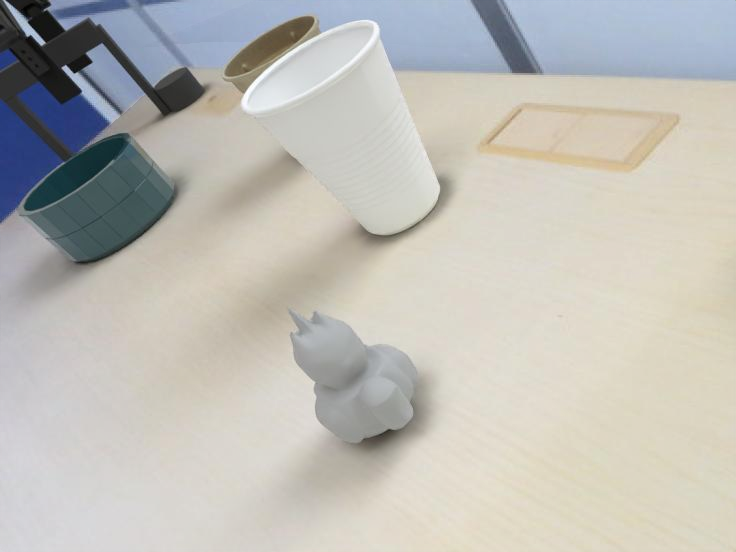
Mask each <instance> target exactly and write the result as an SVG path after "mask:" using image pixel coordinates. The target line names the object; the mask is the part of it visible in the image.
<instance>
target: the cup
mask: <svg viewBox="0 0 736 552" xmlns="http://www.w3.org/2000/svg"><path fill="white" fill-rule="evenodd" d="M380 35H381V28H380V26H379V24H378V23H377V22H375V21H374V20H370V19H360V20H353V21H349V22H346V23H344V24H340V25H338V26H335V27H332V28H330V29H328V30H326V31H324V32H321V34H320V35H318V36H316V37H314V38H312V39H310V40H308V41H306V42H305V43H303V44H301V45H300V46H298V47H296V48H295V49H293V50H292V51H290V52H289V53H287V54H286V55H284V56H283V57H282V58H280V59H279V60H278V61H276V62H275V63H274V64H272V65H271V66H270V67H269V68H268V69H266V70H265V71H264V72H263V73H262V74H261V75H260V76H259V77H258V78H257V79H256V80H255V81H254V82H253V83H252V84H251V85H250V86H249V88H248V89H247V91H246V92H245V94H244V93H243V96H242V98H241V100H240V109H241V110H242V112H243V114H245V115H247V116H249V117H252V118H253V119H254V120H255V121H256V122H257V123H258V124H259V125H260V126H261V127H262V128H263V129H264V130H265V131H266V132H267V133H268V134H269V135H270V136H271V137H272V138H273V139H274V140H275V141H276V142H277V143H278V144H279V145H280V146H281V147H282V148H284V150H286V152H287V153H289V154H290V155H291V157H292V158H294V159H296V160H297V162H298V164H301V166H303V168H304V169H305V170H306V171H308V173H309V174H310V175H311V176H313V178H314V179H315V181H318V182H319V183H320V186H322V187H323V188H325V190H326V192H329V194H331V196H332V197H333V198H335V199H336V201H337V202H338V203H340V204H341V206H342V207H343V208H344V209H346V210H347V212H348V213H349V214H350V215H351V216H352V217H353V218H354V219H355V220H356V221H357V222H358V223H359V224H360V225H361V226H362V227H363V229H365V230H366V231H367V232H368V233H370V234H374V235H379V236H392V235H395V234H399V233H401V232H405V231H406V230H408V229H410V228H411V227H413V226H415V225H416V224H418V223H419V222H421V221H422V220H423V219H425V218H426V217H427V216H428V215H429V213H431V212H432V211H433V209H434V208H435V207H436V205H437V203H438V199H439V195H440V193H441V185H440V183H439V181H438V177H437V175H436V173H435V171H434V168H433V166H432V163H431V161H430V158H429V156H428V153H427V151H426V149H425V146H424V144H423V142H422V138H421V137H420V135H419V134H420V133H419V131H418V129H417V126H416V123H415V122H414V118H413V117H412V114H411V111H410V108H409V107H408V104H407V102H406V100H405V97H404V94H403V93H402V89H401V86H400V84H399V82H398V79H397V77H396V73H395V72H394V69H393V67H392V65H391V64H392V63H391V62H390V59H389V57H388V55H387V52H386V50H385V47H384V44H383V42H382V40H381V36H380Z"/></svg>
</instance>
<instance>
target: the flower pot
mask: <svg viewBox="0 0 736 552" xmlns="http://www.w3.org/2000/svg"><path fill="white" fill-rule="evenodd" d="M319 26H320V19H319V17H318V15H317V14H314V13H306V14H301V15H298V16H295V17H292V18H289V19H287V20H285V21H283V22H281V23H279V24H277V25H275V26H273V27H271V28H270V29H267V30H266V31H264V32H263V33H261V34H260V35H258V36H256V37H255V38H253V39H252V40H251V41H250V42H248V43H247V44H245V45H244V46H243V47H241V48H240V50H239V49H238V51H236V53H235V54H233V56H232V57H230V58H229V60H228V61H227V62H226V63H225V65H224V66H223V67H222V70H221V72H220V77H221V79H223V81H225V82H227V83H231V84H232V86H234V87H235V88H236V89H237V90H238V91H239V92H240V93H241V94H243V95H244V94H245V92H246V91H247V89H248V88H249V86H250V85H251V84H252V83H253V82H254V81H255V80H256V79H257V78H258V77H259V76H260V75H261V74H262V73H263V72H264V71H265V70H266V69H268V68H269V67H270V66H271V65H272V64H274V63H275V62H276V61H278V60H279V59H280V58H282V57H283V56H284V55H286V54H287V53H289V52H290V51H292V50H293V49H295V48H296V47H298V46H300V45H301V44H303V43H305V42H306V41H308V40H310V39H312V38H314V37H316V36H318V35H320V34H321V33H322V32H321V29H320V27H319Z"/></svg>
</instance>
